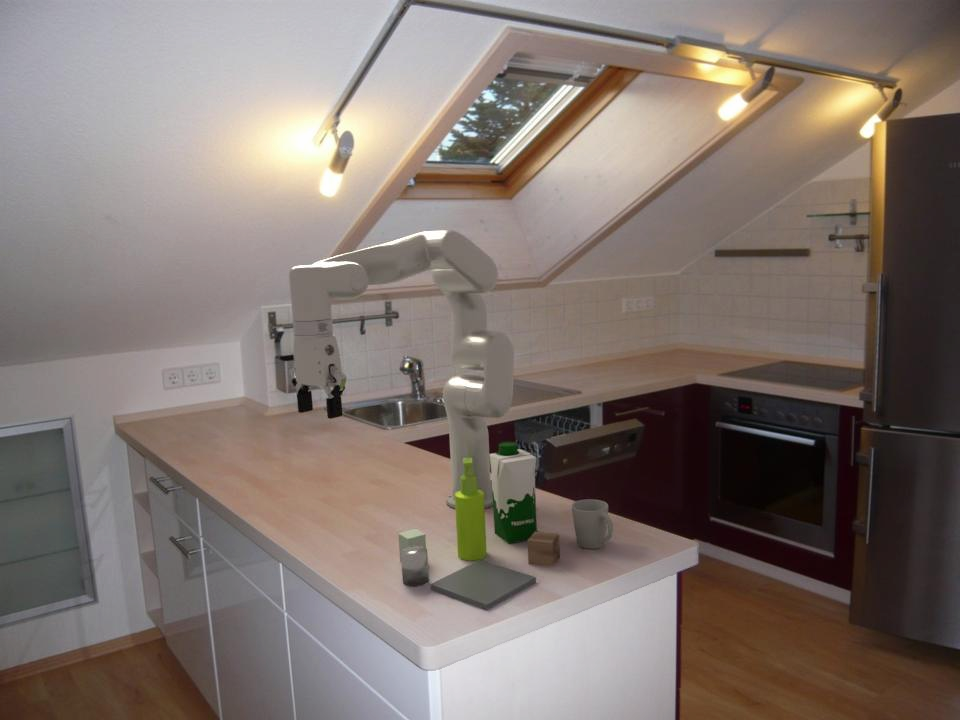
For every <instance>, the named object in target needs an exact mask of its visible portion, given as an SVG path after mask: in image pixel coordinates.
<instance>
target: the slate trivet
mask: <svg viewBox="0 0 960 720" xmlns="http://www.w3.org/2000/svg"><path fill="white" fill-rule="evenodd" d="M535 583H537V576H534V575H530V574H528V573H524V572H522V571H518V570H514V569H511V568H508V567H504V566H501V565H499V564H496V563H492V562H489V561H486V560H484V559H483V560H482V559H479V560H476V561H475V562H473V563H471V564H468V565H466V566H465V567H462V568H460V569H458V570H457V571H454V572H452V573H450V574H448V575H446V576H444V577H442V578H440V579H438V580H436V581H434V582H432V583H430V584H429V585H430V586H429V587H430V590H431V591H435V592H437V593H440V594H442V595H445V596H448V597H450V598H453V599H455V600H459V601H462V602H464V603H467V604H470V605H472V606H475V607H478V608H480V609H483V610H486V611H488V610H489V609H491V608H493V607H495V606H497V605H498V604H500V603H501V602H503V601H506V600H508V599H509V598H511V597H513V596H514V595H516V594H518V593H521V591H523V590H525V589H527V588H528V587H530V586H532V585H534V584H535Z"/></svg>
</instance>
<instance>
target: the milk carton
mask: <svg viewBox="0 0 960 720" xmlns="http://www.w3.org/2000/svg"><path fill="white" fill-rule="evenodd" d="M489 460H490V473H491V480H492V492H493V505H492V511H493V513H492V514H493V525H494V527H493V528H494V534H495V535H496V536H498V537H499V538H501V539H502V541H504V542H506V543H507V544H513V543H519V542H522V541H527V540H528V539H529V538H530V537H531V536H532V535H533V533H534V532H535V531H537V532H538V524H537V523H538V520H537V502H536V499H537V498H536V496H537V495H536V476H535V475H536V465H537V456H534V455H532V453H529V452H527V451H526V450H523V449H521V448H518V444H517V442H515V441H503V442H499V444H498V452H494V453H493V452H492V453H489Z"/></svg>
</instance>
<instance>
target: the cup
mask: <svg viewBox="0 0 960 720" xmlns="http://www.w3.org/2000/svg"><path fill="white" fill-rule="evenodd" d="M570 506H571V511H572V518H573V519H572V520H573V521H572V522H573V527H574V528H573V529H574V532H575V538H576V539H575V540H576V543H577V545H578V547H580V548H581V549H585V548H586V549H587V550H594V549H595V550H596V549H600V548H602V547H603V546H605V544H606V542H609V540H610V539H611V538H612V535H613V530H614V529H613V528H614V527H613V522H612V521H613V520H612V519H611V517H610V515H609V504H608V503H607V502H606V501H604V500H600V499H587V498H586V499H580V500H576V501H574V502H573V503H572V504H571V505H570Z"/></svg>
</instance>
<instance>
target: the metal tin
mask: <svg viewBox="0 0 960 720" xmlns="http://www.w3.org/2000/svg"><path fill="white" fill-rule="evenodd" d="M429 575H430V573H429V559H428V549H427V547H426V548H425V547H422V546H411V547H407V548H404V549H403V550H402V551H401V576H402V583H403V585H404V586H407V587H421V586H424V585H427V583H429V580H430V578H429V577H430V576H429Z"/></svg>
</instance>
